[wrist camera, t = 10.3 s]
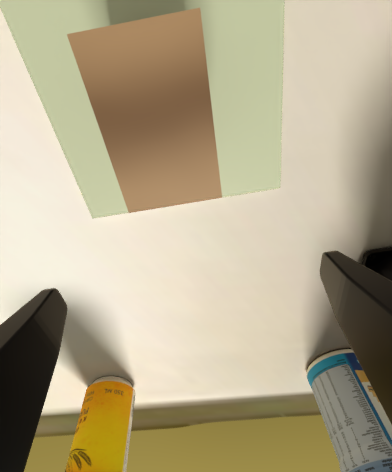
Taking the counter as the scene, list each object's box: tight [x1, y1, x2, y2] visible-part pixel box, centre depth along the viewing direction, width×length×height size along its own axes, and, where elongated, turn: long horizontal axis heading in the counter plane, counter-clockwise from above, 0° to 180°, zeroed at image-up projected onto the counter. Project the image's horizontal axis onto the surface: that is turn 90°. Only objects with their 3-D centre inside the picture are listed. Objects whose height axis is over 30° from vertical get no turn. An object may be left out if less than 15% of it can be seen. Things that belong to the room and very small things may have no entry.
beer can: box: [65, 376, 135, 472], centre depth 30 cm, size 6×6×15 cm
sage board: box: [0, 0, 285, 218], centre depth 17 cm, size 14×14×1 cm
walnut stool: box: [67, 8, 222, 213], centre depth 14 cm, size 7×4×6 cm, turn 9°
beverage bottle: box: [307, 349, 392, 472], centre depth 28 cm, size 8×8×20 cm
